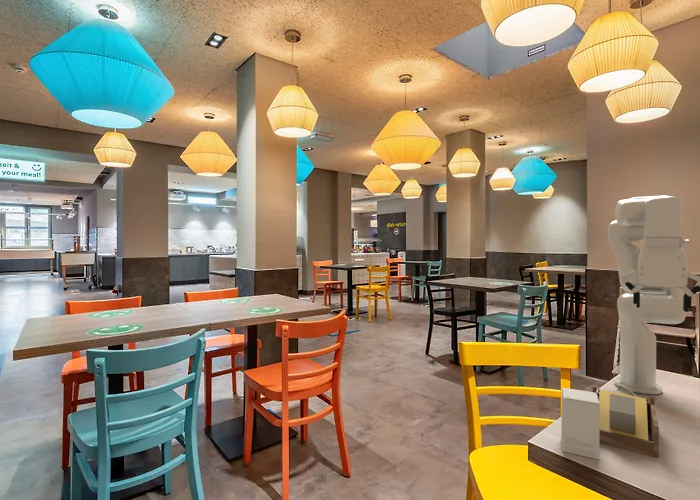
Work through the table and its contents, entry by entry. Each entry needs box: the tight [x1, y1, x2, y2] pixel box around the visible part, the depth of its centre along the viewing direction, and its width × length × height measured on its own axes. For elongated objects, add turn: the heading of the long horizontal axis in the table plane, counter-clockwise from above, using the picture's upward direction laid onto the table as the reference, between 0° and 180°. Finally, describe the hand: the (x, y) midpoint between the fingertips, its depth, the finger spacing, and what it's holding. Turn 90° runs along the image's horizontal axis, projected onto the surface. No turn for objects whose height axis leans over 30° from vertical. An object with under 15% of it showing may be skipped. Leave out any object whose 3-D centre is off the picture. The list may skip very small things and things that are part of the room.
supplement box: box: [560, 387, 600, 460], centre depth 87 cm, size 7×7×13 cm
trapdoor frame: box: [592, 385, 660, 459], centre depth 94 cm, size 17×13×8 cm
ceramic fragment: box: [614, 386, 637, 396], centre depth 114 cm, size 14×5×4 cm, turn 171°
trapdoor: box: [597, 389, 649, 441], centre depth 95 cm, size 14×11×1 cm
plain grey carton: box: [609, 394, 636, 435], centre depth 91 cm, size 5×5×7 cm
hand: (661, 308), depth 99 cm, fingers open, 9 cm apart
